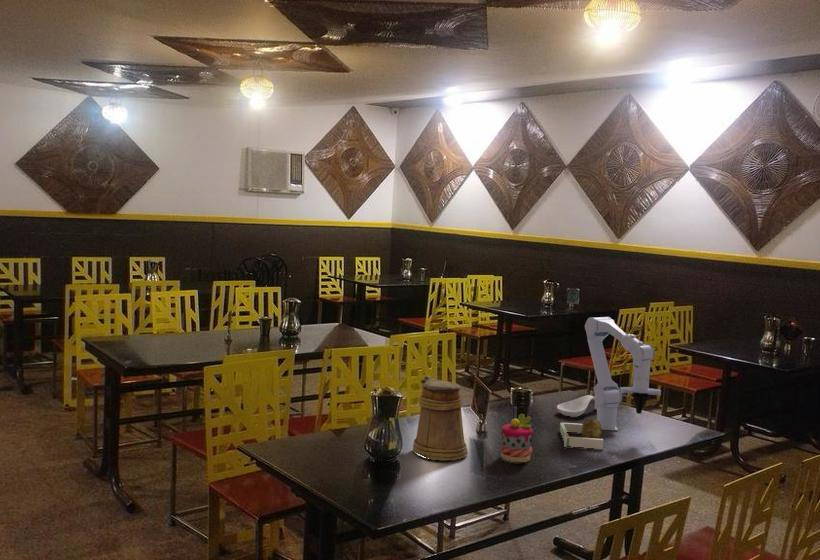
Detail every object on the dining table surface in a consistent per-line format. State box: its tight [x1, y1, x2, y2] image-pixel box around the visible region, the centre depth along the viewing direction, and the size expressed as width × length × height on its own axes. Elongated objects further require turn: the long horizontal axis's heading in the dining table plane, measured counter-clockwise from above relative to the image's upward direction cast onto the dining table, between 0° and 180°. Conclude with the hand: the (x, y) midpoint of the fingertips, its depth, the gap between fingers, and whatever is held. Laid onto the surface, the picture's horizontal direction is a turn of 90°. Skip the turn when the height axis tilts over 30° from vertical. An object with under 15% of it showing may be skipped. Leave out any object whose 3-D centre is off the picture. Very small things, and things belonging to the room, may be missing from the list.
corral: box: [559, 422, 604, 450], centre depth 278 cm, size 19×13×4 cm
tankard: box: [412, 374, 469, 461], centre depth 256 cm, size 18×24×25 cm
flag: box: [563, 430, 567, 448], centre depth 266 cm, size 3×1×7 cm, turn 175°
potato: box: [581, 418, 603, 439], centre depth 275 cm, size 8×13×8 cm, turn 150°
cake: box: [499, 413, 533, 462], centre depth 252 cm, size 10×11×15 cm
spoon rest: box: [556, 394, 598, 418], centre depth 315 cm, size 24×12×7 cm, turn 126°
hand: (638, 412), depth 280 cm, fingers closed
